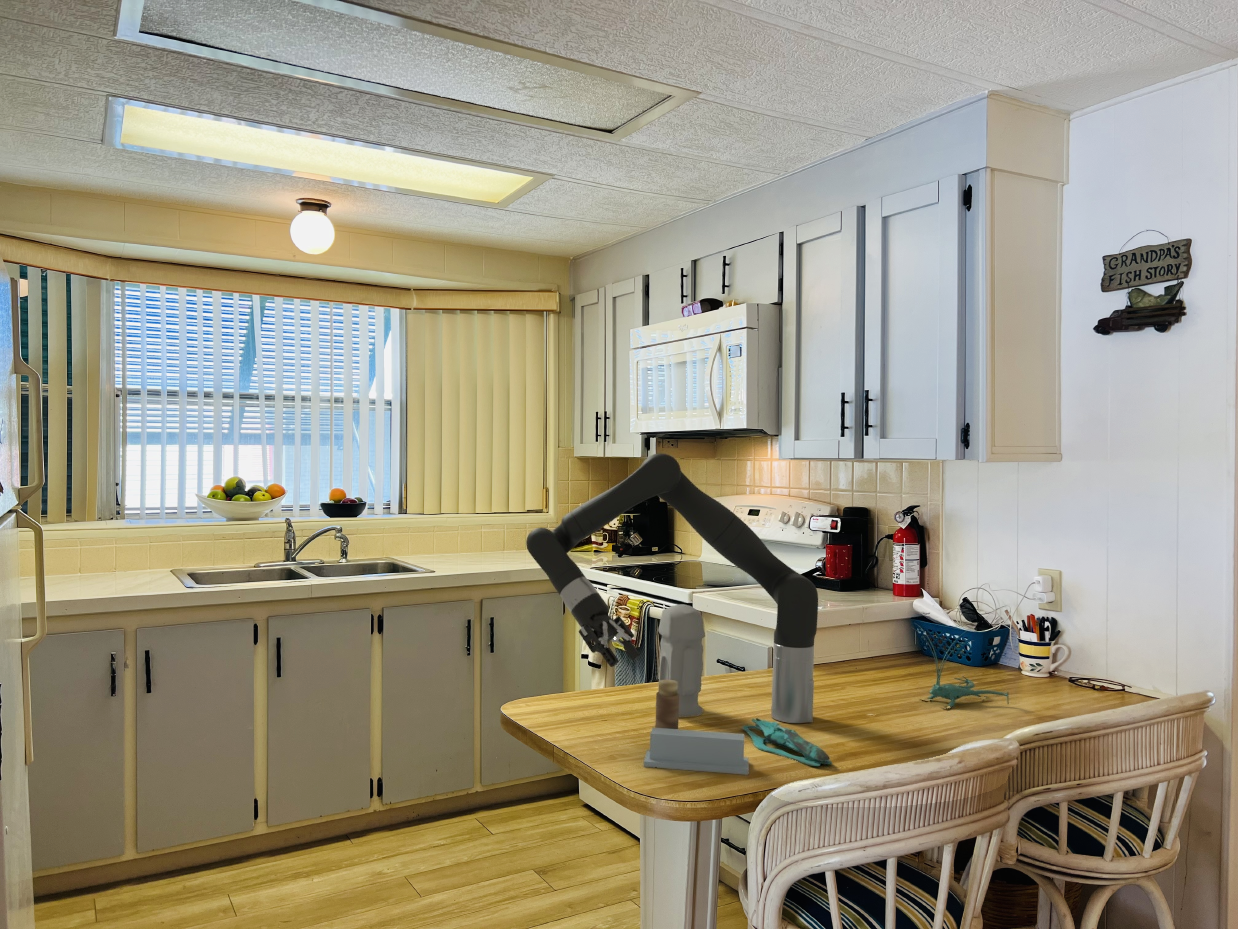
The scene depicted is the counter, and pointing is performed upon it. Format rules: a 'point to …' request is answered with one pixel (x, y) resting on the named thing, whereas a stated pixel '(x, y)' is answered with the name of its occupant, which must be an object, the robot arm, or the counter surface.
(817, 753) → the toy spaceship
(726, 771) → the rail
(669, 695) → the pepper mill
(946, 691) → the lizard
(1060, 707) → the counter surface
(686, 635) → the grey moai statue
